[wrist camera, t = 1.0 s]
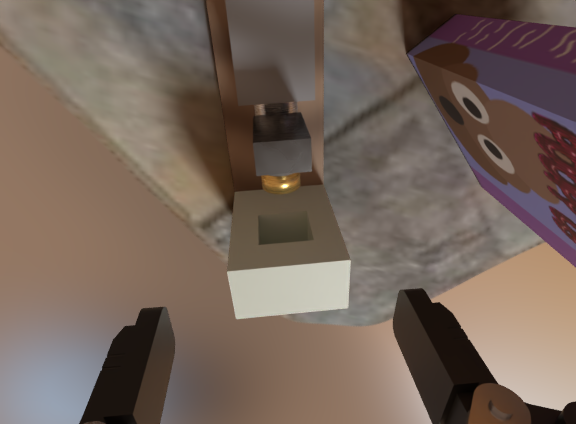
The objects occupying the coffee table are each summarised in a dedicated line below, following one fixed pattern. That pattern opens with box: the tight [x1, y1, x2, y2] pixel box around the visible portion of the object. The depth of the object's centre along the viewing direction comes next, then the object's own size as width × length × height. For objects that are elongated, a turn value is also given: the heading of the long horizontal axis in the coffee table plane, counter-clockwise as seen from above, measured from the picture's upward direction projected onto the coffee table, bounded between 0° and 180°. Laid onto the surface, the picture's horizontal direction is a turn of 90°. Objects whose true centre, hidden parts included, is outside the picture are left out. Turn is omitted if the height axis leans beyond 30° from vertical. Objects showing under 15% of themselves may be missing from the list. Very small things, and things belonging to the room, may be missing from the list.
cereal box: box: [406, 14, 576, 267], centre depth 24 cm, size 17×5×24 cm, turn 39°
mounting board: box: [206, 0, 324, 192], centre depth 29 cm, size 27×9×10 cm, turn 3°
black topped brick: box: [253, 102, 312, 194], centre depth 22 cm, size 16×3×8 cm, turn 3°
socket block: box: [227, 184, 351, 319], centre depth 32 cm, size 5×9×12 cm, turn 93°
